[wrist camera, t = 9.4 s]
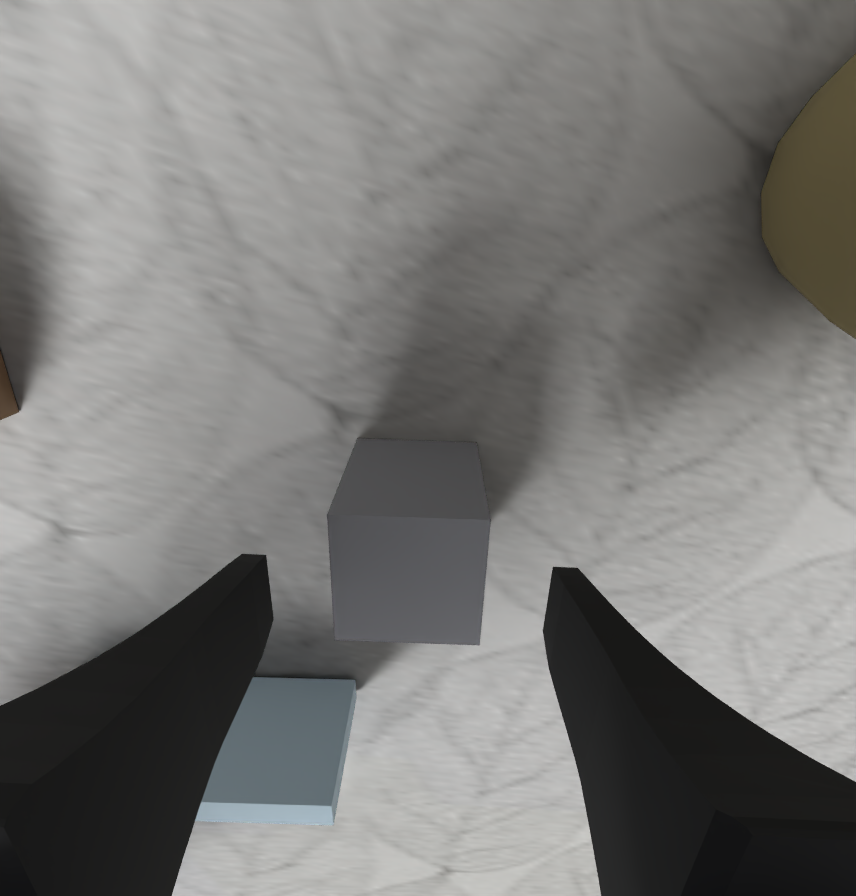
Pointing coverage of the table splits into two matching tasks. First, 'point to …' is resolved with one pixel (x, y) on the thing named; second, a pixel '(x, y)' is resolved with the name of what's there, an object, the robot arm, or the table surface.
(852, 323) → the squeeze bottle
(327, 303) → the table surface
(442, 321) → the table surface
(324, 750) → the door
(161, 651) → the robot arm
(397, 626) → the block
